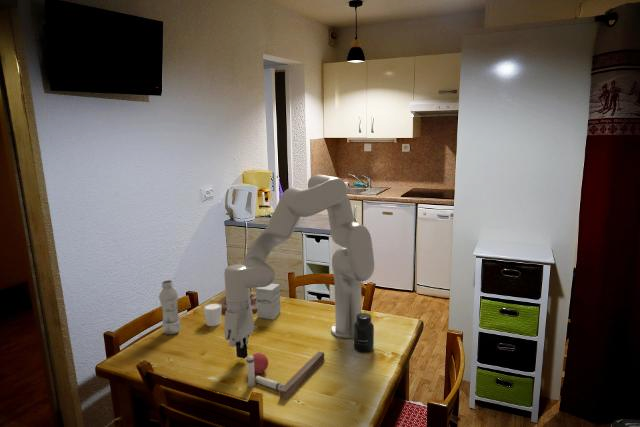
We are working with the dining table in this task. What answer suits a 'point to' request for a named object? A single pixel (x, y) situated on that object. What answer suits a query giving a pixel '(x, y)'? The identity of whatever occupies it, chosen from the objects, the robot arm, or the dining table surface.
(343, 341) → the dining table surface
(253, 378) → the side pin
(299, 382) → the back wall
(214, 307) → the white cup
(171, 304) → the plastic bottle
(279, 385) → the pin
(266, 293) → the supplement box
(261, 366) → the ball
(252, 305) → the plant
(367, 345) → the supplement bottle
